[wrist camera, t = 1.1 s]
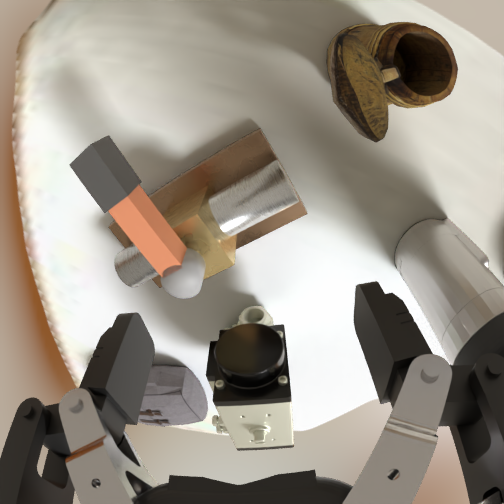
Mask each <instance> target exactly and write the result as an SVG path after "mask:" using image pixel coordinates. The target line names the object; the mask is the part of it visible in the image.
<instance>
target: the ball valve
mask: <svg viewBox="0 0 504 504" xmlns="http://www.w3.org/2000/svg"><path fill="white" fill-rule="evenodd" d="M206 377H207V379H208V381H209V384H210V386H211V388H212V391H213V402H214V404H215V407H216V409H217V411H218V413H219V415H220V416H219V418H218V416H217V415H214V416H213V417H212V423H213V425H214V426H216V429H217V433H222V431H223V432H224V433H229V435H230V437H231V439H232V441H233V443H234V445H235V447H236V449H237V450H239V451H240V450H264V449H278V448H291V447H294V439H293V419H292V401H291V389H290V378H289V368H288V358H287V348H286V339H285V329H284V325H274V324H273V319H272V317H271V316H270V314H269V313H268V312H267V311H266V310H265V309H264V308H263V307H262V306H252V307H248V308H246V309H245V310H244V311H243V312H242V313H241V314H240V316H239V321H238V324H235V325H233V327H232V328H225V329H224V330H220V334H219V339H218V341H211V342H210V347H209V355H208V363H207V371H206Z"/></svg>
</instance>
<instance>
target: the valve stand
mask: <svg viewBox="0 0 504 504" xmlns="http://www.w3.org/2000/svg"><path fill="white" fill-rule="evenodd" d="M148 197H149V199H150V200H151V201H152V203H153V204H154V205H155V207H156V208H157V209H158V211H159V212H160V213H161V215H162V216H163V217H164V219H165V220H166V221H167V223H168V224H169V225H170V227H171V228H172V229H173V231H174V232H175V233H176V234H177V236H178V237H179V238H180V240H181V241H182V242H183V244H184V245H185V246H186V247H187V248H189V249H192V250H195V251H196V252H198V253H199V254H200V255H201V256H202V257H203V259H204V261H205V264H206V268H205V273H204V278H203V280H204V279H206V278H209V277H211V276H213V275H215V274H217V273H219V272H221V271H223V270H225V269H227V268H229V267H231V266H233V265H234V262H235V251H236V249H238V248H240V247H242V246H244V245H246V244H248V243H250V242H252V241H254V240H256V239H258V238H260V237H262V236H264V235H266V234H268V233H270V232H272V231H274V230H276V229H278V228H280V227H282V226H284V225H286V224H288V223H290V222H292V221H294V220H296V219H298V218H300V217H302V216H304V215H306V214H307V211H306V208H305V206H304V205H303V203H302V201H301V199H300V197H299V195H298V193H297V192H296V190H295V188H294V186H293V184H292V183H291V181H290V179H289V177H288V175H287V174H286V172H285V170H284V168H283V166H282V165H281V163H280V161H279V159H278V158H277V156H276V154H275V152H274V151H273V149H272V147H271V145H270V144H269V142H268V140H267V139H266V137H265V135H264V134H263V132H262V130H261V129H260V128H259V129H258V130H256V131H254V132H252V133H250V134H248V135H247V136H245V137H243V138H241V139H240V140H238V141H236V142H234V143H232V144H231V145H229V146H227V147H226V148H224V149H222V150H220V151H219V152H217V153H215V154H214V155H212V156H210V157H209V158H207V159H205V160H204V161H202V162H200V163H199V164H197V165H196V166H194V167H192V168H191V169H189V170H188V171H186V172H184V173H183V174H181V175H180V176H178V177H177V178H175V179H173V180H172V181H170V182H169V183H167V184H166V185H164V186H163V187H161V188H160V189H158V190H157V191H155V192H154V193H152V194H151V195H149V196H148ZM109 229H110V230H111V231H112V232H113V234H114V235H115V236H116V237H117V238H118V240H119V241H120V242H121V243H122V245H123V246H124V247H125V249H124V250H122V251H121V252H119V253H118V254H117V255H116V257H115V262H114V263H115V269H116V272H117V274H118V276H119V277H120V279H121V280H122V281H123V282H124V283H125V284H126V285H128V286H130V287H137V286H139V285H141V284H143V283H145V282H147V281H148V280H150V279H152V280H153V281H154V282H155V283H156V284H157V286H158V287H159V288H161V287H163V286H162V284H161V275H160V274H159V273H158V272H157V271H156V270H155V268H154V267H153V266H152V265H151V264H150V263H149V261H148V260H147V259H146V258H145V257H144V255H143V254H142V253H141V252H140V251H139V249H138V248H137V247H136V246H135V244H134V243H133V242H132V241H131V240H130V238H129V237H128V236H127V235H126V233H125V232H124V231H123V230H122V228H121V227H120V226H119V224H118V223H117V222H116V221H115V220H114V221H113V222H112V223H111V224H110V226H109Z"/></svg>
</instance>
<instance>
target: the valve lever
mask: <svg viewBox="0 0 504 504" xmlns="http://www.w3.org/2000/svg"><path fill="white" fill-rule="evenodd" d="M70 166H71V168H72V169H73V171H74V172H75V174H76V175H77V176H78V178H79V179H80V181H81V182H82V183H83V185H84V186H85V187H86V189H87V190H88V192H89V193H90V194H91V196H92V197H93V198H94V200H95V201H96V202H97V204H98V205H99V206H100V208H101V209H102V210H103V212H104V213H106V212H107V211H108V212H109V213H110V214H111V215H112V217H113V218H114V219H115V221H116V222H117V223H118V224H119V226H120V227H121V228H122V230H123V231H124V232H125V233H126V235H127V236H128V237H129V238H130V240H131V241H132V242H133V243H134V244H135V246H136V247H137V248H138V249H139V251H140V252H141V253H142V254H143V255H144V257H145V258H146V259H147V260H148V261H149V263H150V264H151V265H152V266H153V267H154V268H155V270H156V271H157V272H158V273H159V274H160V275H161V284H162V286H163V288H164V289H165V291H166V292H167V293H169V294H170V295H172V296H174V297H177V298H181V299H187V298H192V297H194V296H196V295H197V294H198V293H199V292H200V290H201V287H202V282H203V278H204V273H205V268H206V264H205V261H204V259H203V257H202V256H201V255H200V254H199V253H198V252H196V251H195V250H192V249H189V248H187V247H186V246H185V245H184V244H183V242H182V241H181V240H180V238H179V237H178V236H177V234H176V233H175V232H174V231H173V229H172V228H171V227H170V225H169V224H168V223H167V221H166V220H165V219H164V217H163V216H162V215H161V213H160V212H159V211H158V209H157V208H156V207H155V205H154V204H153V203H152V201H151V200H150V199H149V197H148V196H147V195H146V193H145V192H144V190H143V189H142V188H141V186H140V185H139V184H140V183H141V182H142V181H141V180H140V179H139V177H138V176H137V175H136V173H135V172H134V170H133V169H132V168H131V166H130V165H129V163H128V162H127V161H126V159H125V158H124V156H123V155H122V153H121V152H120V151H119V149H118V148H117V146H116V145H115V143H114V142H113V141H112V139H111V138H110V136H107V137H105V138H102V139H100V140H98V141H96V142H94V143H92V144H91V145H90V146H89V147H87V148H86V149H85V150H84V151H83V152H82V153H81V154H80V155H79V156H78V157H77V158H76V159H75V160H74V161H73V162H72V163H71V164H70Z"/></svg>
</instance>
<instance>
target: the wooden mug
mask: <svg viewBox="0 0 504 504" xmlns="http://www.w3.org/2000/svg"><path fill="white" fill-rule="evenodd" d="M327 68H328V73H329V77H330V79H331V87H332V95H333V101H334V103H335V104H336V105H337V107H338V108H339V109H340V111H341V112H342V113H343V115H344V116H345V117H346V118H347V120H348V121H349V122H350V123H351V124H352V126H353V127H354V128H355V129H356V130H357V132H358V133H359V134H361V135H362V136H364V137H366V138H368V139H370V140H372V141H374V142H378V141H380V140H381V139H383V138H384V137H385V134H386V132H387V129H388V105H390V104H392V103H393V104H395V105H396V106H399V107H404V108H416V107H425V106H427V105H430V104H432V103H434V102H437V101H441V100H443V99H444V98H445V97H447V96H448V95H450V93H451V92H452V90H453V88H454V85H455V82H456V78H457V71H458V67H457V63H456V59H455V56H454V53H453V51H452V48H451V47H450V45H449V44H448V42H447V41H446V40H445V39H444V38H443V37H442V36H441V35H440V34H439V33H437V32H436V31H434V30H432V29H430V28H428V27H426V26H421V25H419V24H416V23H410V22H396V23H389V24H386V25H379V26H378V25H375V24H358V25H354V26H351V27H348V28H346V29H344V30H342V31H341V32H339V33H338V34H337V35H336V36H335V37H334V38H333V40H332V41H331V43H330V45H329V47H328V50H327Z"/></svg>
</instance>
